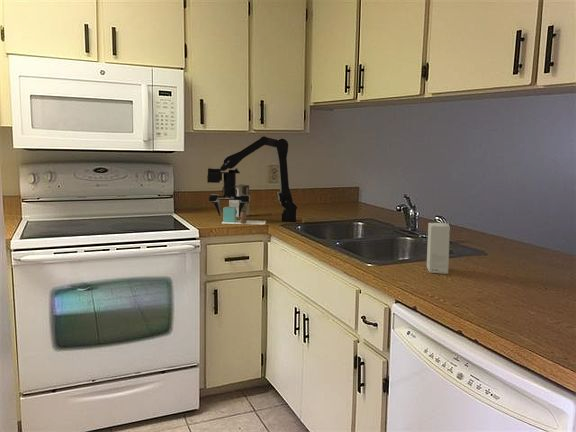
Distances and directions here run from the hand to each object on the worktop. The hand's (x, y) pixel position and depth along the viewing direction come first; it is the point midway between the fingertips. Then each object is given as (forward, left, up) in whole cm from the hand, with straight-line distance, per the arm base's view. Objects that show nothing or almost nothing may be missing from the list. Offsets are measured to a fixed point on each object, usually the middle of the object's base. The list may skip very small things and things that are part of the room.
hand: (229, 216), depth 236 cm
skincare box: (-77, +76, -3) cm, 108 cm away
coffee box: (-2, -19, -3) cm, 19 cm away
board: (-7, +1, -3) cm, 8 cm away
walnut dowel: (-7, +4, -3) cm, 9 cm away
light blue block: (0, 0, -2) cm, 2 cm away
